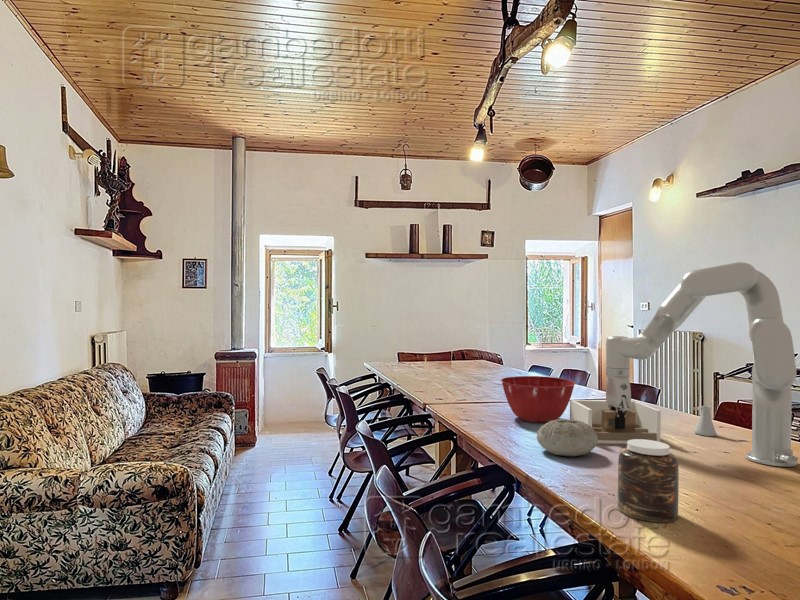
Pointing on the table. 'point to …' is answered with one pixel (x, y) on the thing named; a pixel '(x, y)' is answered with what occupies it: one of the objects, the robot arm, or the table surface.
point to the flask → (705, 423)
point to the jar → (648, 481)
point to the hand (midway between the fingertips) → (616, 426)
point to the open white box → (644, 429)
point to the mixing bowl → (537, 397)
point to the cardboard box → (609, 421)
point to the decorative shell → (567, 437)
